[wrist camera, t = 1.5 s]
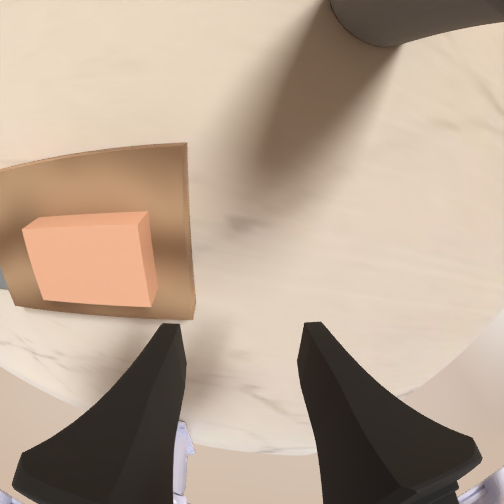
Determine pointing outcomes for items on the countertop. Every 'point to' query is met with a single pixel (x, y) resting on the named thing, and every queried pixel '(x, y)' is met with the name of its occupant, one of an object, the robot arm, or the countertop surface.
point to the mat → (2, 281)
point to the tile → (94, 258)
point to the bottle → (412, 18)
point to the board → (104, 201)
